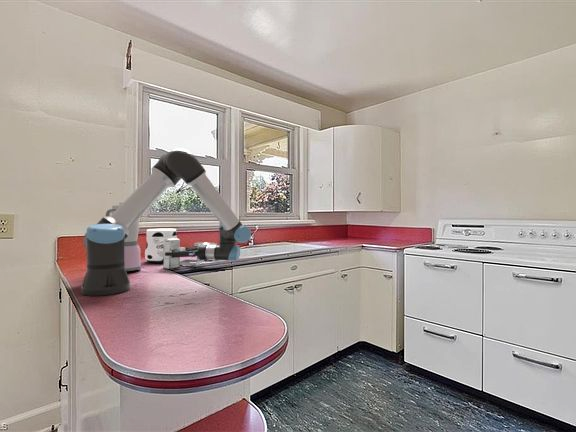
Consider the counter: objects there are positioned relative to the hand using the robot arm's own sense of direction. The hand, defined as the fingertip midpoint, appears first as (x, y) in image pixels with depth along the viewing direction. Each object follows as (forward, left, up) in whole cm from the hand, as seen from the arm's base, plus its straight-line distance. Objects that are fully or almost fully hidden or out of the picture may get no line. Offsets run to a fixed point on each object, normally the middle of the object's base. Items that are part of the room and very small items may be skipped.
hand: (166, 251), depth 158 cm
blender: (-13, +14, -8) cm, 21 cm away
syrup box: (0, -3, -8) cm, 9 cm away
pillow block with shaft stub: (+25, -11, -8) cm, 28 cm away
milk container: (+17, +11, -8) cm, 22 cm away
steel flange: (+11, -8, -8) cm, 15 cm away
